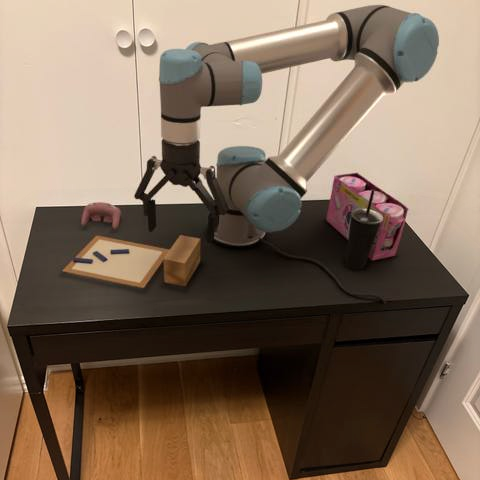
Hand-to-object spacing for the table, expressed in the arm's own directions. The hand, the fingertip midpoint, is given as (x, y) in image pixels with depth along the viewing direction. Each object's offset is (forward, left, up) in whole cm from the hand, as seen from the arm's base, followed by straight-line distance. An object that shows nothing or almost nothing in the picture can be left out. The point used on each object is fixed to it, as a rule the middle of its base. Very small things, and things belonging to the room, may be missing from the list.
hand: (181, 234), depth 113 cm
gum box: (-39, -33, -11) cm, 53 cm away
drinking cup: (-39, -19, -11) cm, 45 cm away
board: (+16, 0, -11) cm, 19 cm away
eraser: (0, 0, -11) cm, 11 cm away
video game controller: (+28, -15, -11) cm, 34 cm away
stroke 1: (+23, +4, -10) cm, 25 cm away
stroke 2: (+20, +1, -10) cm, 23 cm away
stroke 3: (+17, -3, -10) cm, 20 cm away
